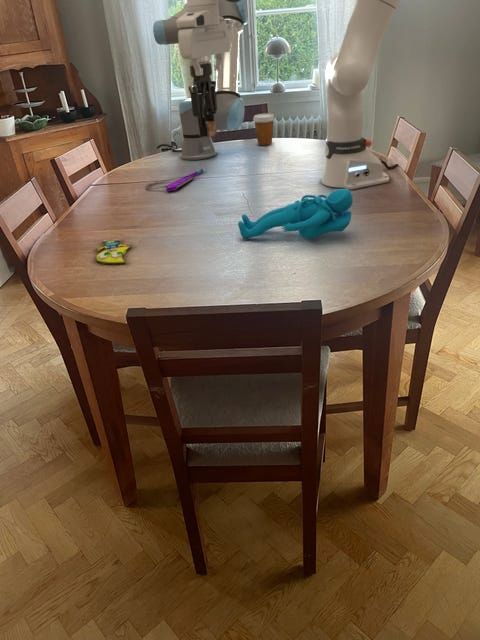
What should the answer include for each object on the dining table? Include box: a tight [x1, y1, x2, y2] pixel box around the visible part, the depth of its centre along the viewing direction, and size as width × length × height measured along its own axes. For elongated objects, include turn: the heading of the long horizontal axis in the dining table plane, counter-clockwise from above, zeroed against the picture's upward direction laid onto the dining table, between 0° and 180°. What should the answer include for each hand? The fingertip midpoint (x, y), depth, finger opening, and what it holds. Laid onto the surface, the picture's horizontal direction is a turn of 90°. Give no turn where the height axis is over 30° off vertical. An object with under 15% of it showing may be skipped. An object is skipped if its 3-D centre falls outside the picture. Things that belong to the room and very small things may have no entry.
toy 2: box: [237, 188, 354, 240], centre depth 126 cm, size 17×11×30 cm
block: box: [198, 121, 217, 138], centre depth 176 cm, size 4×5×4 cm
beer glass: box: [252, 113, 275, 146], centre depth 215 cm, size 10×10×12 cm
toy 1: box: [95, 238, 133, 265], centre depth 129 cm, size 10×1×15 cm
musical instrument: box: [145, 168, 205, 192], centre depth 179 cm, size 24×2×20 cm
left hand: (207, 134), depth 177 cm, fingers closed on block, 4 cm apart
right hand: (209, 73), depth 142 cm, fingers open, 8 cm apart
